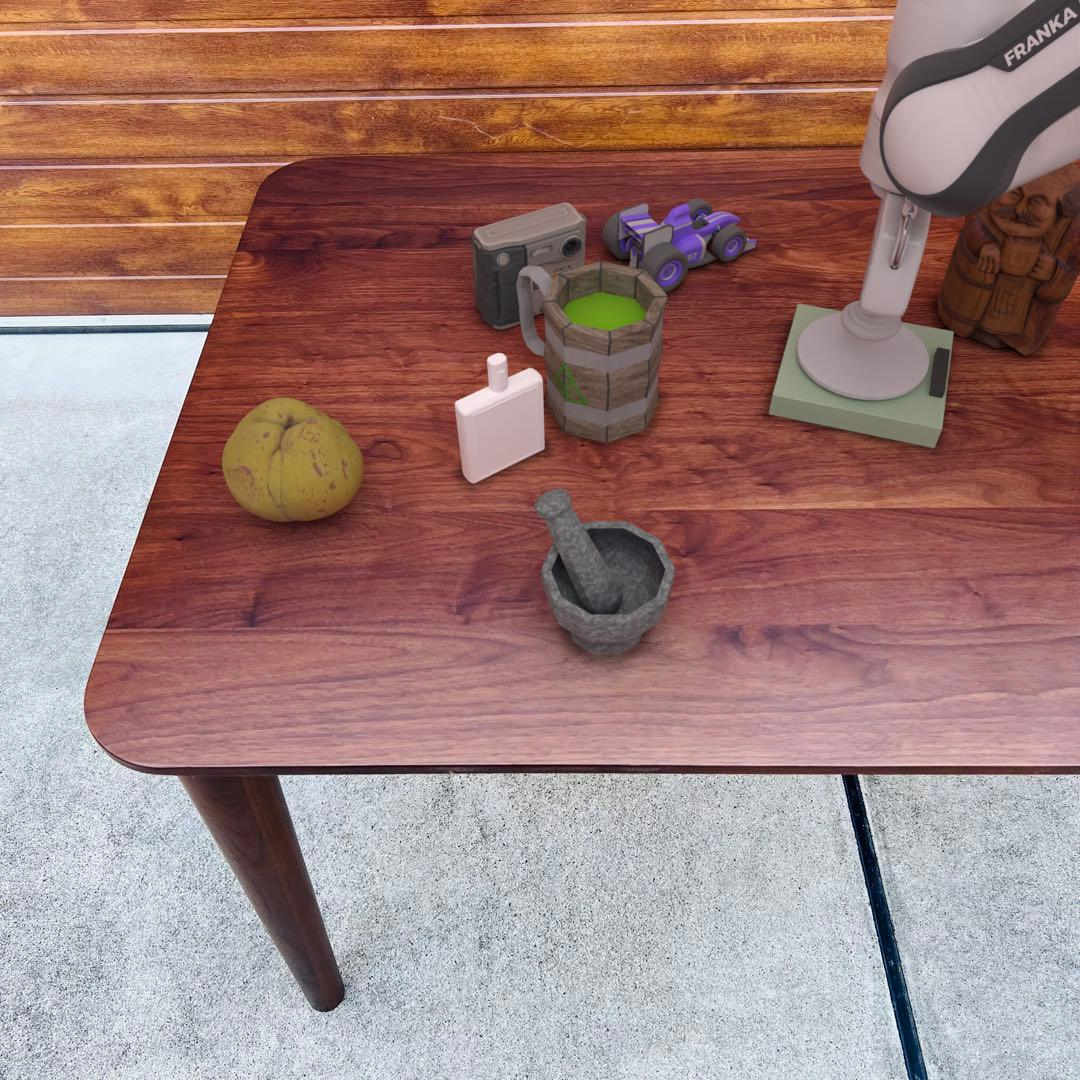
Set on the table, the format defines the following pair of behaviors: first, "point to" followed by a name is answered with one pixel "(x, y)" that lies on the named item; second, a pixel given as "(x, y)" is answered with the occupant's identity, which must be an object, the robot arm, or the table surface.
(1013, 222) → the wooden figurine
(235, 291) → the table surface
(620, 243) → the toy race car
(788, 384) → the scale
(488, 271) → the camera
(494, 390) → the perfume bottle
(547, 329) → the mug
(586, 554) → the mortar and pestle
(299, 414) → the fruit
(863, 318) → the chess piece
